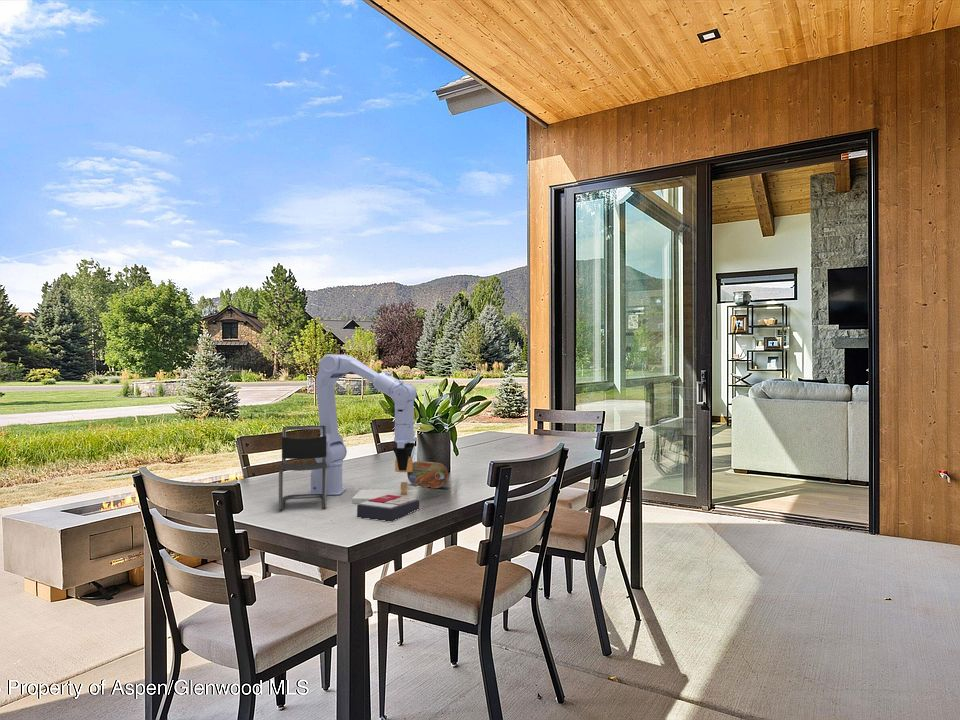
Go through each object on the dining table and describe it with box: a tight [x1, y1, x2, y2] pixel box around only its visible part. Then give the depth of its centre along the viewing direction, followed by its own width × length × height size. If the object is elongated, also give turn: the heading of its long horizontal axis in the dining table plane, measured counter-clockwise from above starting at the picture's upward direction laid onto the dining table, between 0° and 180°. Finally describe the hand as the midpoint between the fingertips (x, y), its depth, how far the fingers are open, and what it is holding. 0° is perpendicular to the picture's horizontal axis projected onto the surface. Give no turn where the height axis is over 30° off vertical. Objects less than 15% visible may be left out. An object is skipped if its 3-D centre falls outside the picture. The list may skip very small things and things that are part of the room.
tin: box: [406, 460, 449, 489], centre depth 201 cm, size 15×3×8 cm, turn 62°
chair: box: [278, 425, 327, 511], centre depth 177 cm, size 13×17×22 cm
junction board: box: [351, 481, 419, 504], centre depth 183 cm, size 18×12×5 cm, turn 89°
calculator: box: [356, 495, 420, 522], centre depth 167 cm, size 11×4×15 cm
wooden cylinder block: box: [394, 456, 414, 473], centre depth 183 cm, size 5×5×4 cm
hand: (404, 468), depth 183 cm, fingers closed on wooden cylinder block, 5 cm apart
